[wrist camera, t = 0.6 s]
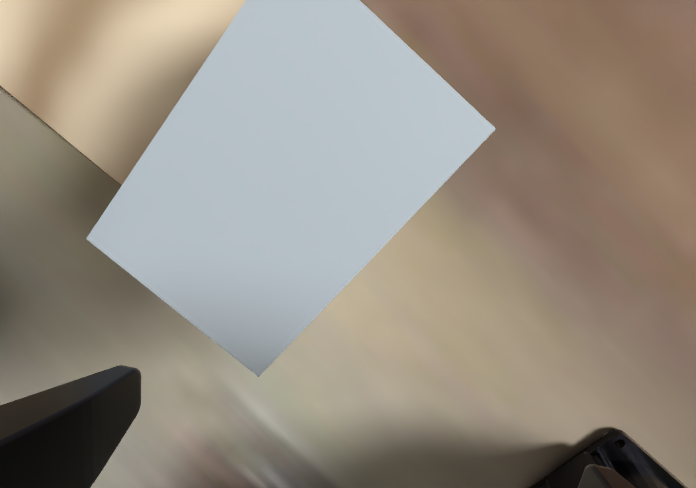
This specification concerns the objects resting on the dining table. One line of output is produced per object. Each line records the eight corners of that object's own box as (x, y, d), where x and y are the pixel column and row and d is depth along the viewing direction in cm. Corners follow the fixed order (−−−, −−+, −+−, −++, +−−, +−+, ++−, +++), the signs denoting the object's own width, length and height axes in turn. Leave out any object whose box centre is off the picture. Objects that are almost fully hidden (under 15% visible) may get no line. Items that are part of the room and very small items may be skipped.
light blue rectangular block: (450, 120, 19) (496, 129, 10) (321, 262, 22) (259, 377, 12) (347, 24, 19) (290, -66, 9) (226, 182, 21) (85, 238, 12)
